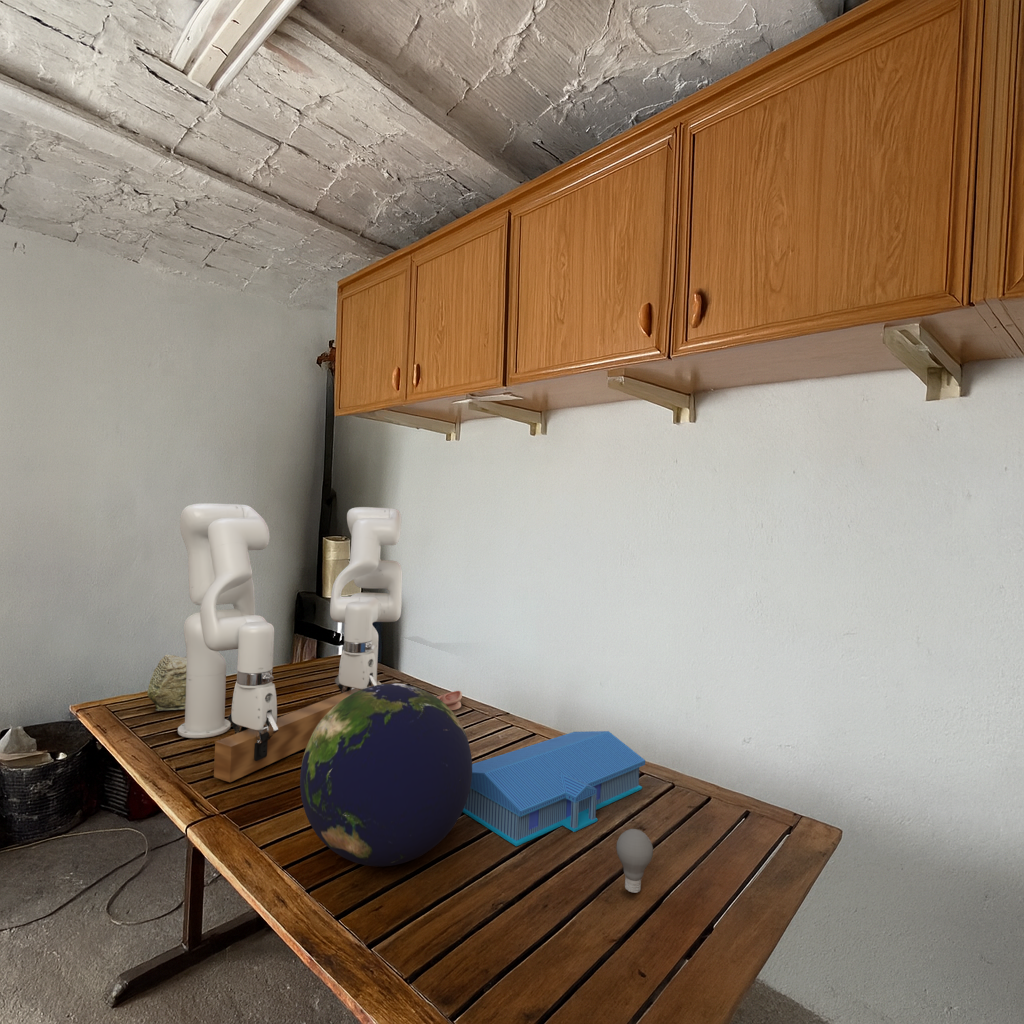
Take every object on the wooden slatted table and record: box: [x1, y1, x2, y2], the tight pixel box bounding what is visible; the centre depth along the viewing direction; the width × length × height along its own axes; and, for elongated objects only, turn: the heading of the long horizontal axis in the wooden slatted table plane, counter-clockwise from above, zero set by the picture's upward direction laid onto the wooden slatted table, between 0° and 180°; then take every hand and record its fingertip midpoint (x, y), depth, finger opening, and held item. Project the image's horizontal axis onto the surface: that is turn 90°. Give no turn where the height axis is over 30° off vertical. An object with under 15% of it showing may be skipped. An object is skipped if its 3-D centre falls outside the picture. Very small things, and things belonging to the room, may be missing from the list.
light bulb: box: [615, 828, 654, 894], centre depth 106 cm, size 6×6×10 cm
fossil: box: [147, 654, 187, 712], centre depth 185 cm, size 9×18×15 cm, turn 132°
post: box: [213, 686, 371, 783], centre depth 161 cm, size 52×5×8 cm, turn 154°
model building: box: [462, 730, 646, 847], centre depth 137 cm, size 39×24×10 cm, turn 132°
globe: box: [299, 683, 473, 868], centre depth 113 cm, size 30×30×30 cm
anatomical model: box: [436, 690, 463, 711], centre depth 194 cm, size 13×4×12 cm
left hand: (251, 754), depth 145 cm, fingers closed on post, 5 cm apart
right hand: (355, 710), depth 177 cm, fingers closed on post, 5 cm apart
